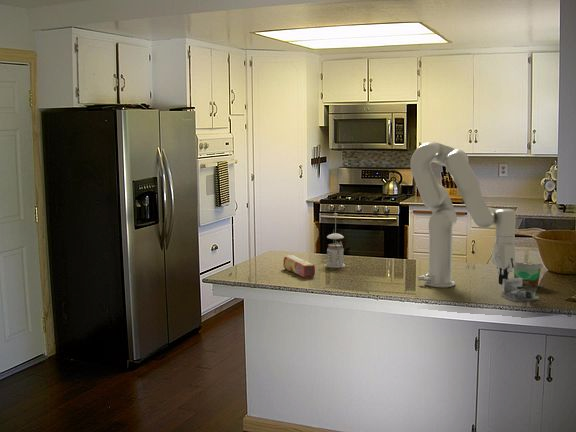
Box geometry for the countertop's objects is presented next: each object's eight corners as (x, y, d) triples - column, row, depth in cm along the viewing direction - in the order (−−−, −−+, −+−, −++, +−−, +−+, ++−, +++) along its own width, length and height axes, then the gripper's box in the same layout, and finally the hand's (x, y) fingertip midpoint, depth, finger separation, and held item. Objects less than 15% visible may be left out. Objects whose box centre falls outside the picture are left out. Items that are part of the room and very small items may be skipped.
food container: (509, 286, 296) (511, 263, 294) (510, 283, 302) (512, 260, 300) (541, 289, 292) (542, 265, 290) (541, 286, 297) (543, 262, 296)
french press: (340, 262, 343) (341, 211, 339) (350, 267, 332) (351, 214, 328) (321, 263, 340) (322, 212, 336) (330, 269, 329) (331, 215, 325)
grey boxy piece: (515, 296, 275) (515, 284, 274) (502, 291, 283) (502, 278, 283) (536, 295, 277) (537, 282, 277) (523, 289, 286) (523, 277, 285)
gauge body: (514, 302, 273) (514, 293, 272) (501, 296, 281) (501, 288, 281) (539, 300, 276) (539, 291, 275) (525, 294, 284) (526, 286, 284)
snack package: (316, 277, 313) (316, 262, 312) (302, 279, 310) (302, 264, 309) (295, 268, 332) (295, 253, 331) (282, 269, 329) (282, 255, 328)
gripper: (486, 237, 293) (485, 280, 296) (507, 243, 279) (505, 289, 282) (502, 236, 295) (500, 279, 298) (523, 242, 281) (521, 287, 284)
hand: (503, 283), depth 290 cm, fingers closed
